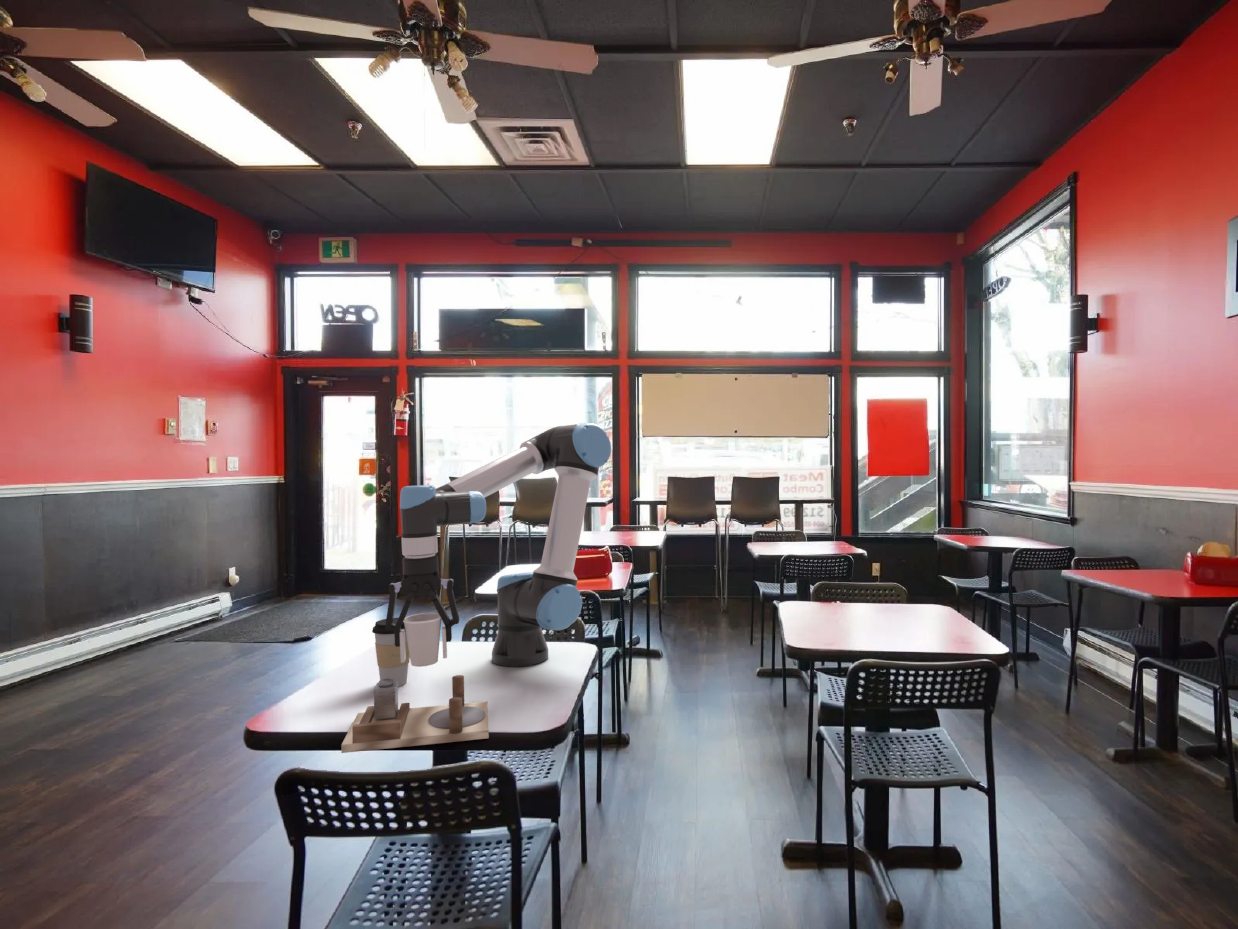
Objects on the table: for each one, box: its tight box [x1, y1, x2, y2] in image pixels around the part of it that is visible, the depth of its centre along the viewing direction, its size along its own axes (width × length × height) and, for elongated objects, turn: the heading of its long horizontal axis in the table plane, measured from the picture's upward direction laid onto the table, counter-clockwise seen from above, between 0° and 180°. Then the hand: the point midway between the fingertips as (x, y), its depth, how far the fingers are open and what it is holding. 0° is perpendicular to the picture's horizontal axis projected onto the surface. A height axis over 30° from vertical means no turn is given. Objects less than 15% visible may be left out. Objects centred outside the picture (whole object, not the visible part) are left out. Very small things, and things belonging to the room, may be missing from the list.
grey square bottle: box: [373, 679, 399, 720], centre depth 129 cm, size 4×4×7 cm
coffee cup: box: [371, 617, 410, 687], centre depth 155 cm, size 9×9×15 cm
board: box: [340, 674, 490, 754], centre depth 126 cm, size 26×16×8 cm, turn 102°
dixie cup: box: [403, 612, 442, 668], centre depth 141 cm, size 8×8×10 cm
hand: (424, 658), depth 141 cm, fingers closed on dixie cup, 8 cm apart
